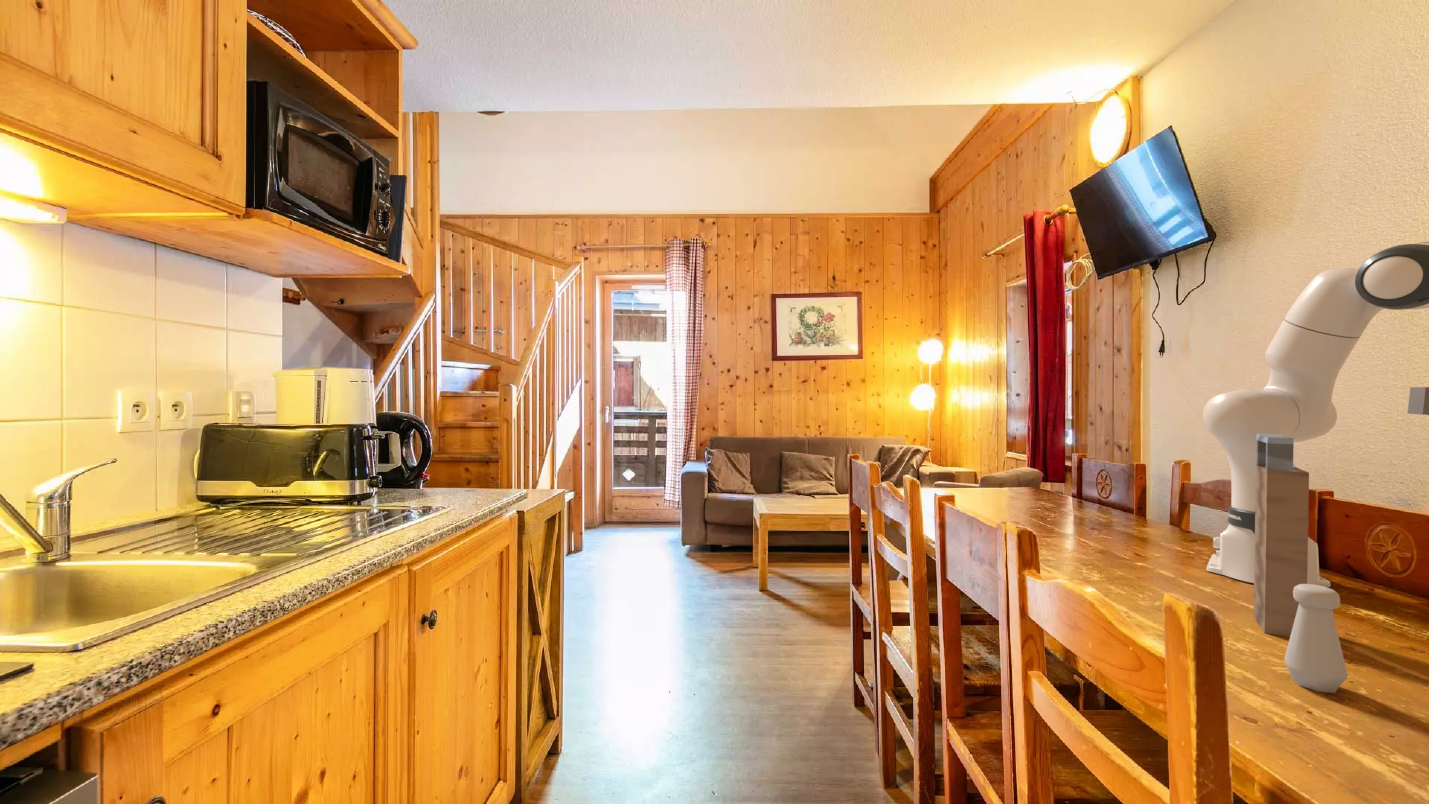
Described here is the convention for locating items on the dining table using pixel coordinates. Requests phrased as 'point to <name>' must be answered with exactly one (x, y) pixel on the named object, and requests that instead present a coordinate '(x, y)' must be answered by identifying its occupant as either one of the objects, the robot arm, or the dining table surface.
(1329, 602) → the salt shaker
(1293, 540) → the post
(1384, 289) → the robot arm
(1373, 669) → the dining table surface
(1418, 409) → the cream bar
